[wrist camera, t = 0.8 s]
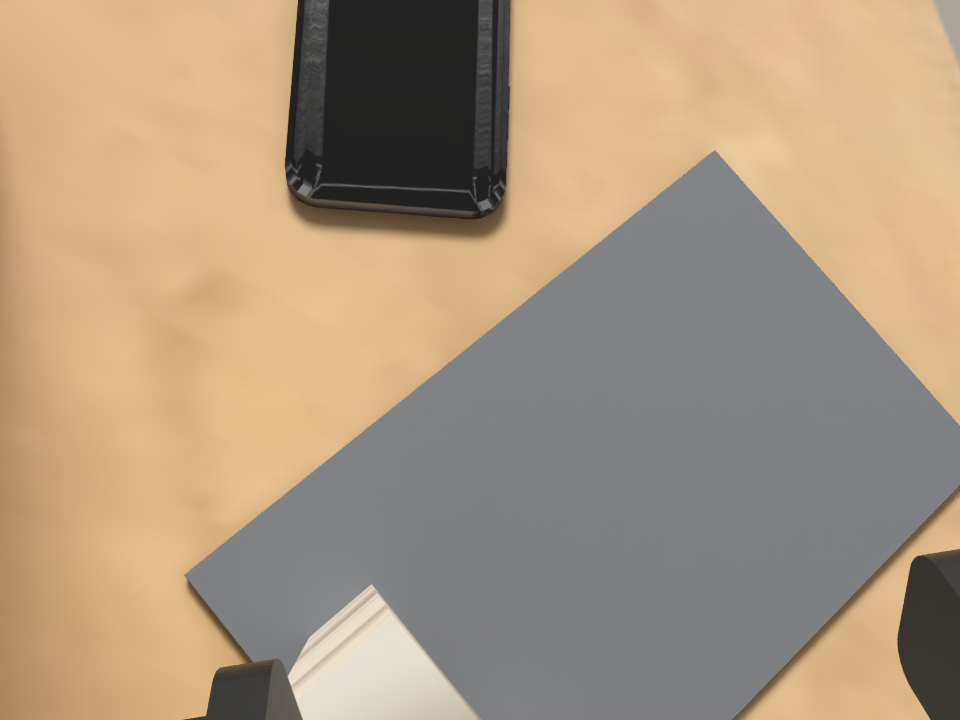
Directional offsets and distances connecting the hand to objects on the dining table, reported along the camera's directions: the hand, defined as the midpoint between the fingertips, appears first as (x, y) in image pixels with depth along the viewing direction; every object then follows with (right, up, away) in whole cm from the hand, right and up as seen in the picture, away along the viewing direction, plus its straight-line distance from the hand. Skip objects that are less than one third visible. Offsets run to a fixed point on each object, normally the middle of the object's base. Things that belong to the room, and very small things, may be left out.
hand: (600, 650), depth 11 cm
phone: (-4, +16, +23) cm, 28 cm away
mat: (+3, -1, +19) cm, 20 cm away
